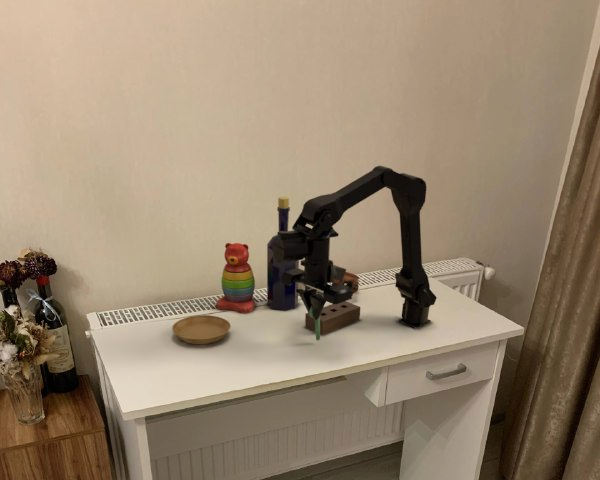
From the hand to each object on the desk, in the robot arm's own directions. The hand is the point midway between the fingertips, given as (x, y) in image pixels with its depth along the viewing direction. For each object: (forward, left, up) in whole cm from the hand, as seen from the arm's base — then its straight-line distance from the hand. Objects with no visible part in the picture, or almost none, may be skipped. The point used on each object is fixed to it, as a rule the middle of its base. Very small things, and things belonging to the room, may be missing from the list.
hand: (314, 318), depth 150 cm
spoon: (0, -2, -6) cm, 7 cm away
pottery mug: (+18, -31, -8) cm, 37 cm away
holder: (+6, -13, -7) cm, 16 cm away
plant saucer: (+23, +18, -8) cm, 30 cm away
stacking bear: (+33, -2, -8) cm, 34 cm away
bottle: (+25, -12, -8) cm, 29 cm away
